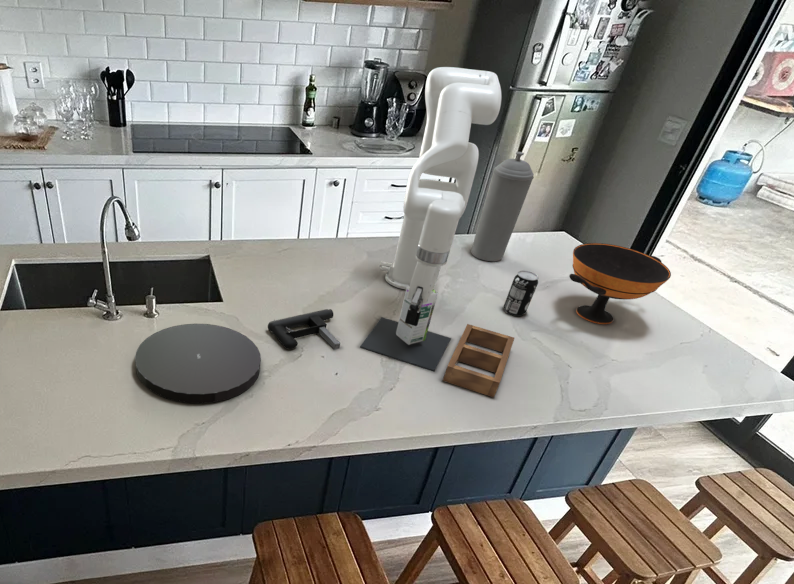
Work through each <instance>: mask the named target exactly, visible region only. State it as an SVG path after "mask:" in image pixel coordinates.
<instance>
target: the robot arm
mask: <svg viewBox="0 0 794 584" xmlns="http://www.w3.org/2000/svg"><path fill="white" fill-rule="evenodd" d="M424 100H425V109H426V122H425V127H424V131H423V132H424V133H423V138H422V142H421V147H420V150H419V151H420V152H419V156H418V159H417V160H416V162H415V163H414V164H413V166H412V168H411V169H410V171H409V174H408V177H407V180H406V181H407V182H406V187H405V193H404V198H403V199H404V200H403V206H402V207H403V217H402V218H403V219H402V224H401V228H400V232H399V237H398V241H397V246H396V250H395V254H394V259H393V262H387V261H384V260H380V262H379V265H378V267H379V268H380V271H384V272H385V276H384V279H385V281H386V282H387V283H388V284H389V285H390V286H393V287H395V288H398V289H400V290H406V288H407V287H410V288H409V291H408V294H407V298H408V299H411V298H412V297H413V298H412V300H411V303H410V306H409V309H408V312H407V316H406V319H405V323H407V324H410V325H413V326H417V325H418V321H419V318H420V314H421V312H420V310H421V307H422V304H423V303H424V302H426V301H427V299H428V297H429V295H430V294H431V292H432V290H433V289H434V290H435V287H436V283H437V281H438V278H439V275H440V270H441V267H443V266H445V265H446V264H447V263H448V260H449V256H450V252H451V249H452V245H453V241H454V238H455V235H456V233H457V232H456V231H457V229H458V225H459V222H460V219H461V218H462V217H463V215H464V213H465V211H466V208H467V205H468V203H469V200H470V195H471V191H472V188H473V183H474V179H475V176H476V172H477V168H478V164H479V157H480V152H479V148H478V146H477V145H476V144H475V143H473V142H469V141H470V140H469V139H470V135H471V127H472V124H474V125H475V124H476V125H482V126H483V125H484V126H489V125H492V124H493V123H494V122H495V121H496V120H497V119H498V116H499V113H500V110H501V106H502V88H501V84H500V81H499V77H498V75H497V73H495V72H493V71H488V70H480V69H470V68H463V67H453V66H440V67H434V68H433V69H432V70H431V71H430V72H429V73H428V75H427V78H426V81H425V89H424ZM422 174H425V175H430V176H436V177H443V178H451V179H454V180H455V182H450V181H442V180H436V179H425V178H421V176H422ZM421 295H422V300H419V298H420V296H421ZM418 302H419V303H420V305H419V307H418V305H417V304H418Z"/></svg>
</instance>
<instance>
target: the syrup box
mask: <svg viewBox="0 0 794 584" xmlns="http://www.w3.org/2000/svg"><path fill="white" fill-rule="evenodd" d="M409 288H410V287H407V288H406V289H405V293H404V297H403V301H402V306H401V310H400V313H399V319H398V321H397V322H398V327H397V331H396V335H397V336H398V337H399V338H401V339H402V340H403V341H404V342H405V343H407V344H408V345H410V344H413V343H417V342H421V341H425V339H426V335H427V332H428V331H429V327H430V325H431V320H432V317H433V313H434V309H435V307H436V302H437V299H438V294H439V293H438V291H437V290H435V288H434V289H433V290H432V292H431V294H430V295H429V297H428V299H427V301H426V302H424V303H423V304H422V307H421V310H420V312H421V314H420V318H419V321H418V325H417V326H413V325H410V324H407V323H405V319H406V316H407V312H408V309H409V306H410V303H411V300H412V298H413V297H412V298H411V299H408V298H407V294H408V291H409ZM419 300H422V295H421V296H420V298H419ZM417 305H418V307H419V305H420V303H419V302H418V304H417Z"/></svg>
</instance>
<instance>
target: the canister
mask: <svg viewBox="0 0 794 584" xmlns="http://www.w3.org/2000/svg"><path fill="white" fill-rule="evenodd" d="M524 154H525V153H524V152H522V151H516V152H515V155H516V157H515V158H507V159H505V160H503V161H502V162H500V163H499V164H498V165H496V166H495V167H494V169H493V170H492V175H491V178H490V181H489V184H488V185H489V186H488V189H487V193H486V196H485V199H484V202H483V203H484V204H483V206H482V209H481V214H480V217H479V220H478V225H477V228H476V231H475V235H474V238H473V242H472V245H471V250H470V252H471V255H473V257H475V258H477V259H478V260H482V261H486V262H499V261H501V260H502V259H503V258H504V255H505V252H506V250H507V248H508V245H509V242H510V239H511V237H512V235H513V232H514V229H515V226H516V224H517V221H518V219H519V216H520V213H521V211H522V208H523V207H524V206H523V205H524V203H525V200H526V198H527V195H528V192H529V190H530V187H531V185H532V182H533V180H534V178H535V176H534V172H533V170H532V167H531V165H530V164H529V162H527V161H526V160H523V159H521V157H522V156H524Z"/></svg>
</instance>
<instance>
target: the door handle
mask: <svg viewBox="0 0 794 584" xmlns="http://www.w3.org/2000/svg"><path fill="white" fill-rule="evenodd" d="M333 318H334V311H333V309H331V308H329V309H328V308H326V309H325V308H324V309H320V310H316V311H312V312H307V313H302V314H298V315H294V316H288V317H283V318H280V319H273V320H271V321H269V322H268V323H267V329H268V331H269V332H271V333H272V334H273V335H274V336H275V337H276V340H278V341H279V342H280V344H281V345H282V346H283V347H284V348H285V349H287V350H295V348H297V347H298V341H297V340H296V339H299V338H303V337H307V336H311V335H320V336H321V337H322V338H323V340H325V342H326V343H327V344H328V345H329V346H330V347H331V348H332V349H333V350H336V349H337V350H338V349H340V347H341V342H340V341H339V340H338V339H337V338H336V336H334V335H333V333H331V331H329V329H327V326H328V324H327V322H326V321H329V320H330V319H333ZM306 325H307V328H302V329H297V330H293V328H294V329H295V328H297V327H298V328H299V327H302V326H306Z"/></svg>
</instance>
